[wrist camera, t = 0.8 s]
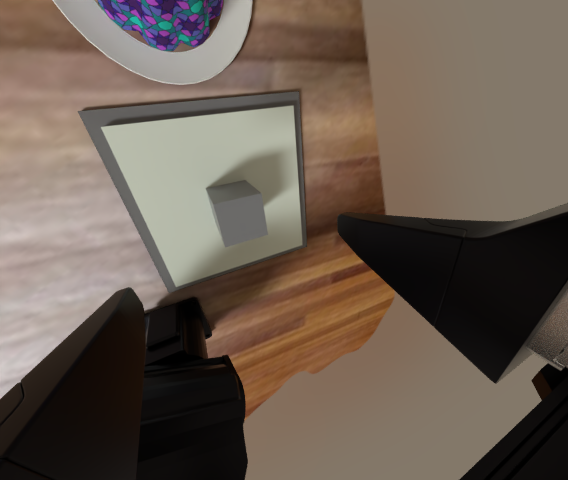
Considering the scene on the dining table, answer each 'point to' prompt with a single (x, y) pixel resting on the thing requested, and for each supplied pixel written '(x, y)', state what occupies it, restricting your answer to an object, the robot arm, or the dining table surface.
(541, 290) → the robot arm
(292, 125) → the lid
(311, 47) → the dining table surface
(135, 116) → the mat
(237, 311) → the dining table surface
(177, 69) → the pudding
